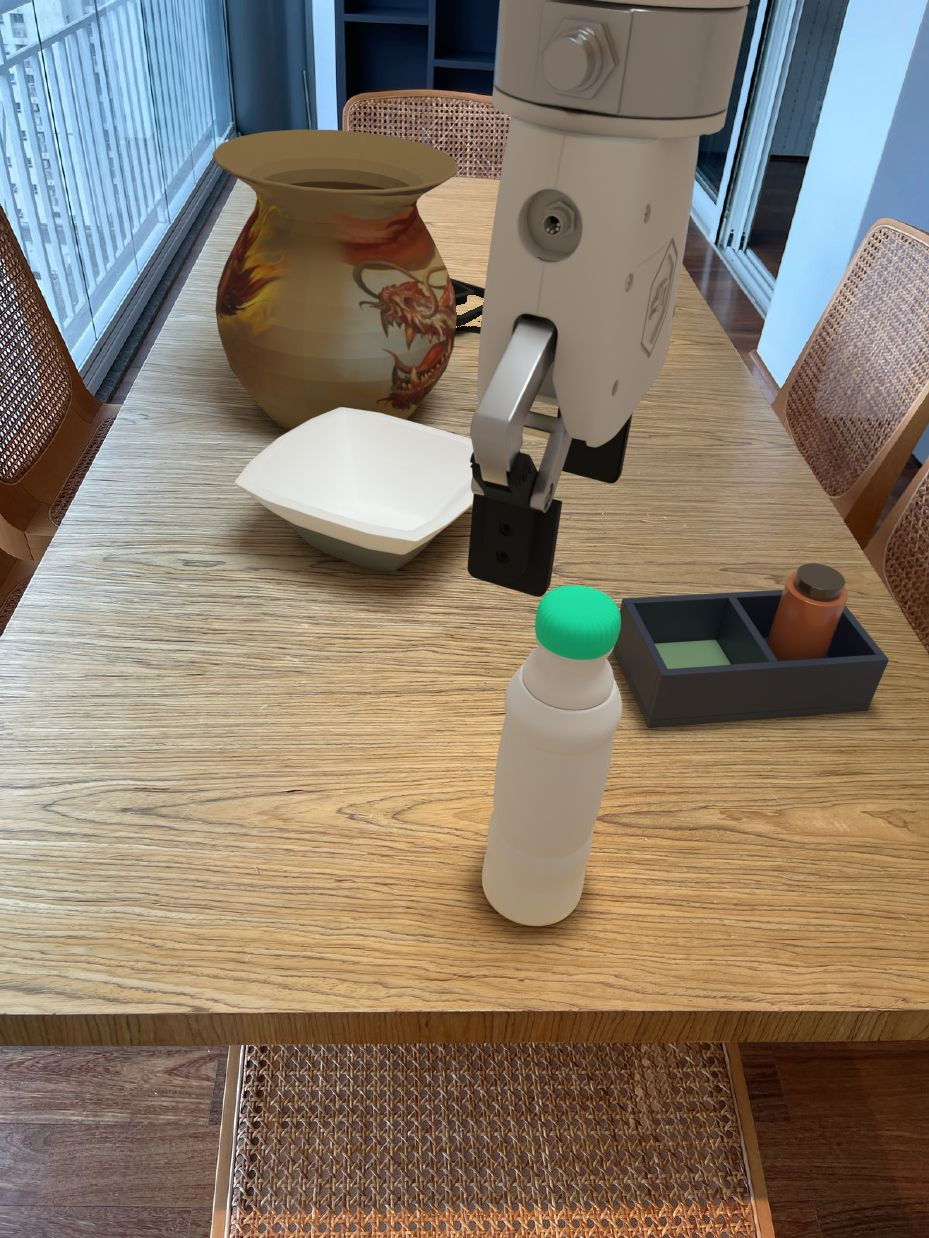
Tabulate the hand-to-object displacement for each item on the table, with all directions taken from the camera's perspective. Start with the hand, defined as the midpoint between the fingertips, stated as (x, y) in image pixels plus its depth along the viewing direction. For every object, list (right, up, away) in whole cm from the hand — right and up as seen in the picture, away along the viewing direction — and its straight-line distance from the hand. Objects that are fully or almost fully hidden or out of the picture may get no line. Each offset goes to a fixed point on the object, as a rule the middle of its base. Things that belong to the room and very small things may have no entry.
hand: (549, 524), depth 42 cm
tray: (-10, +44, +115) cm, 123 cm away
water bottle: (+1, -23, +29) cm, 37 cm away
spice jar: (+26, -8, +49) cm, 56 cm away
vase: (-20, +23, +87) cm, 92 cm away
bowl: (-13, +4, +63) cm, 65 cm away
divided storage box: (+21, -10, +49) cm, 54 cm away
